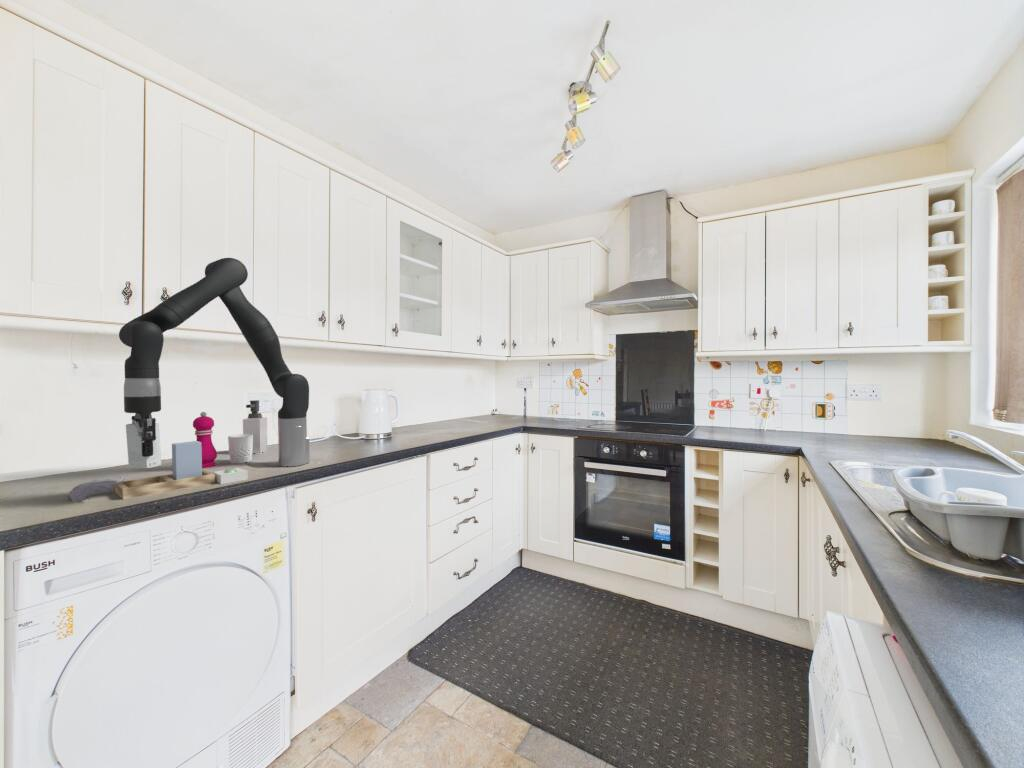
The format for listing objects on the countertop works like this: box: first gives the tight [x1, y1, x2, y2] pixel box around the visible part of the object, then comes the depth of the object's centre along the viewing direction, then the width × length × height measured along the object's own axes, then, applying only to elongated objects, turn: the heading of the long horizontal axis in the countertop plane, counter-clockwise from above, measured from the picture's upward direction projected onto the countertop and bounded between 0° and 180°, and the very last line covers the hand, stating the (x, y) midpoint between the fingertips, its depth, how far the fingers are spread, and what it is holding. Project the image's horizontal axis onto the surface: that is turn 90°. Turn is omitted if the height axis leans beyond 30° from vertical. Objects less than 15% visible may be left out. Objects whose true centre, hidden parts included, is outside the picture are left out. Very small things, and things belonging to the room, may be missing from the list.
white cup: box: [227, 433, 253, 464], centre depth 153 cm, size 8×8×10 cm
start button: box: [224, 468, 235, 473], centre depth 124 cm, size 3×3×2 cm
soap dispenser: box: [242, 400, 268, 454], centre depth 170 cm, size 6×9×22 cm
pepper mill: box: [192, 411, 218, 469], centre depth 142 cm, size 7×7×20 cm
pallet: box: [114, 468, 216, 500], centre depth 116 cm, size 20×11×4 cm, turn 143°
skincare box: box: [125, 422, 162, 469], centre depth 112 cm, size 6×4×12 cm
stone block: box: [68, 476, 125, 501], centre depth 113 cm, size 12×5×10 cm
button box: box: [212, 467, 249, 485], centre depth 124 cm, size 7×7×4 cm
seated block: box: [171, 440, 203, 480], centre depth 119 cm, size 6×4×12 cm, turn 143°
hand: (144, 454), depth 112 cm, fingers closed on skincare box, 7 cm apart
